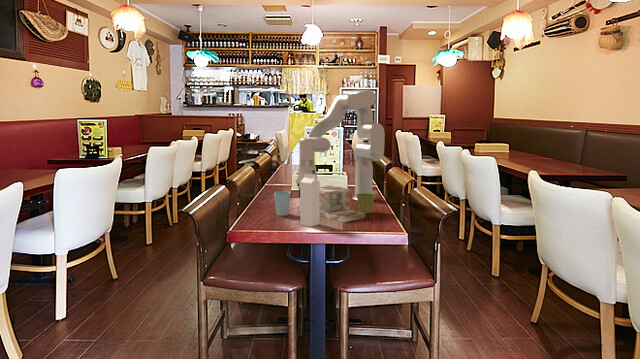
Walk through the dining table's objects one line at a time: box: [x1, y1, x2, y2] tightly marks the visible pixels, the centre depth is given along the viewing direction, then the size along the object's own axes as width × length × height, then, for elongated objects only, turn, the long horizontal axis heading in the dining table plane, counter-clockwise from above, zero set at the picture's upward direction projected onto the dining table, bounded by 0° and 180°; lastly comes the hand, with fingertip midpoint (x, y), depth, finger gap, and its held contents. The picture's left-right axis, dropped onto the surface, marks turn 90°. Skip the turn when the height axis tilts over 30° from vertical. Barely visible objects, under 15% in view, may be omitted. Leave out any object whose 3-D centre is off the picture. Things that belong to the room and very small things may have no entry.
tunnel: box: [297, 185, 366, 223], centre depth 221 cm, size 32×14×12 cm, turn 43°
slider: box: [319, 203, 343, 212], centre depth 227 cm, size 22×9×8 cm, turn 43°
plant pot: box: [356, 193, 377, 215], centre depth 225 cm, size 9×9×9 cm
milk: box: [299, 174, 321, 228], centre depth 200 cm, size 6×6×22 cm
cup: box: [273, 191, 292, 217], centre depth 219 cm, size 8×8×10 cm
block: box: [321, 197, 336, 208], centre depth 222 cm, size 5×5×5 cm
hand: (307, 197), depth 234 cm, fingers open, 7 cm apart
